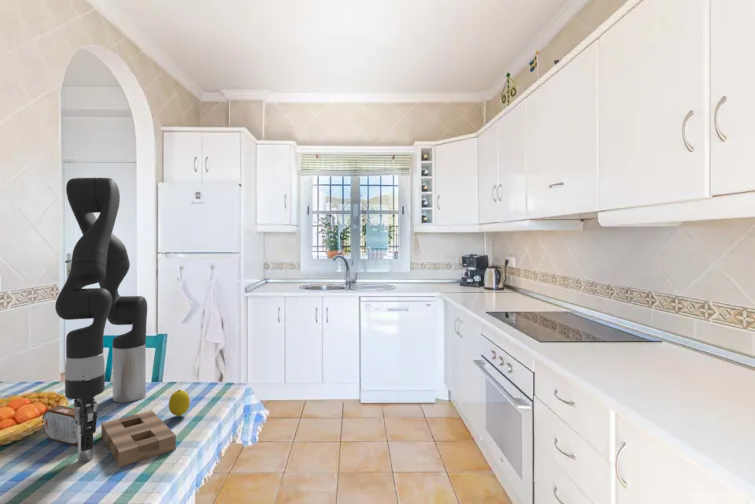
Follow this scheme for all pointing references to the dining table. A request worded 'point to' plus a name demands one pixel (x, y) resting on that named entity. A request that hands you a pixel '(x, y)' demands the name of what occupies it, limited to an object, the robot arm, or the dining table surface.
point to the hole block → (137, 437)
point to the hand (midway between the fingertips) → (85, 446)
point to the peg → (83, 455)
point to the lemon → (179, 403)
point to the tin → (61, 425)
